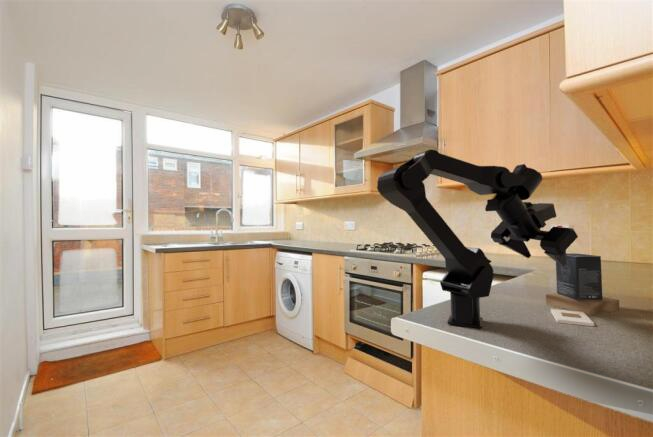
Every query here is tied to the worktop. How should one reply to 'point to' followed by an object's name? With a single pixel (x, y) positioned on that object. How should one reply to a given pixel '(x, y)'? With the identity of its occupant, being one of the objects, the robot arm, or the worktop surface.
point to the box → (580, 277)
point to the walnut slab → (583, 304)
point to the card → (571, 317)
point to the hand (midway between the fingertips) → (545, 260)
